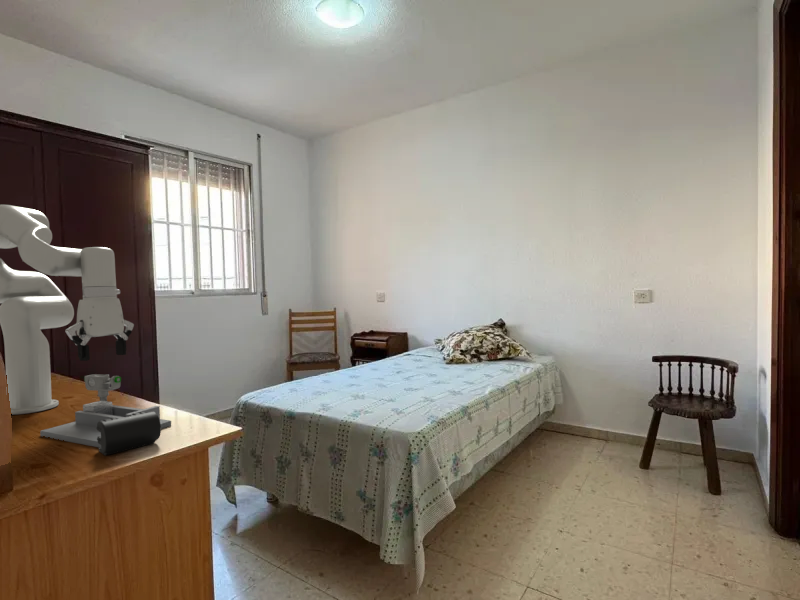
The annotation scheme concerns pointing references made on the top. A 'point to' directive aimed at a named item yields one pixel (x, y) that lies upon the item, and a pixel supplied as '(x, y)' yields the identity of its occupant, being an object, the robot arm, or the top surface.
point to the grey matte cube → (99, 407)
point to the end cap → (128, 432)
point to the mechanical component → (102, 384)
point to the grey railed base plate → (94, 425)
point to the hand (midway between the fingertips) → (103, 357)
